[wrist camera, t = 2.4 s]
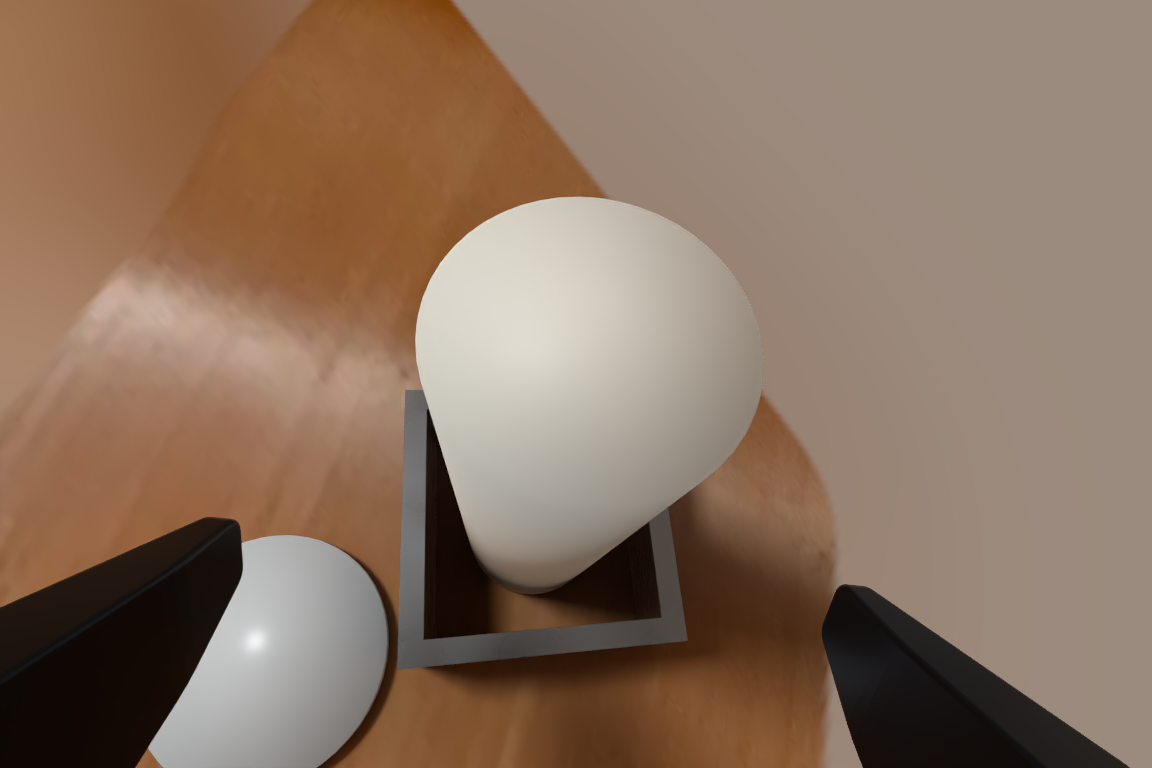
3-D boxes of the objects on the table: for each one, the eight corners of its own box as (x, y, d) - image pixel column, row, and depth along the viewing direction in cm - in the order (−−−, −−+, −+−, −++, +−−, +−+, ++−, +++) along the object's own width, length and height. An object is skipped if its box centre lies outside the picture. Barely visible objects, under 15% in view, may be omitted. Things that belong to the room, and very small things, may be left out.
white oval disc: (384, 774, 15) (381, 778, 15) (118, 807, 15) (108, 812, 14) (393, 530, 18) (390, 527, 18) (166, 545, 17) (159, 543, 17)
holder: (658, 639, 18) (687, 641, 15) (413, 664, 17) (396, 669, 14) (629, 416, 20) (650, 382, 18) (418, 425, 19) (405, 390, 17)
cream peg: (600, 588, 18) (799, 499, 6) (469, 599, 17) (410, 523, 6) (588, 463, 20) (728, 199, 8) (468, 469, 19) (419, 194, 7)
